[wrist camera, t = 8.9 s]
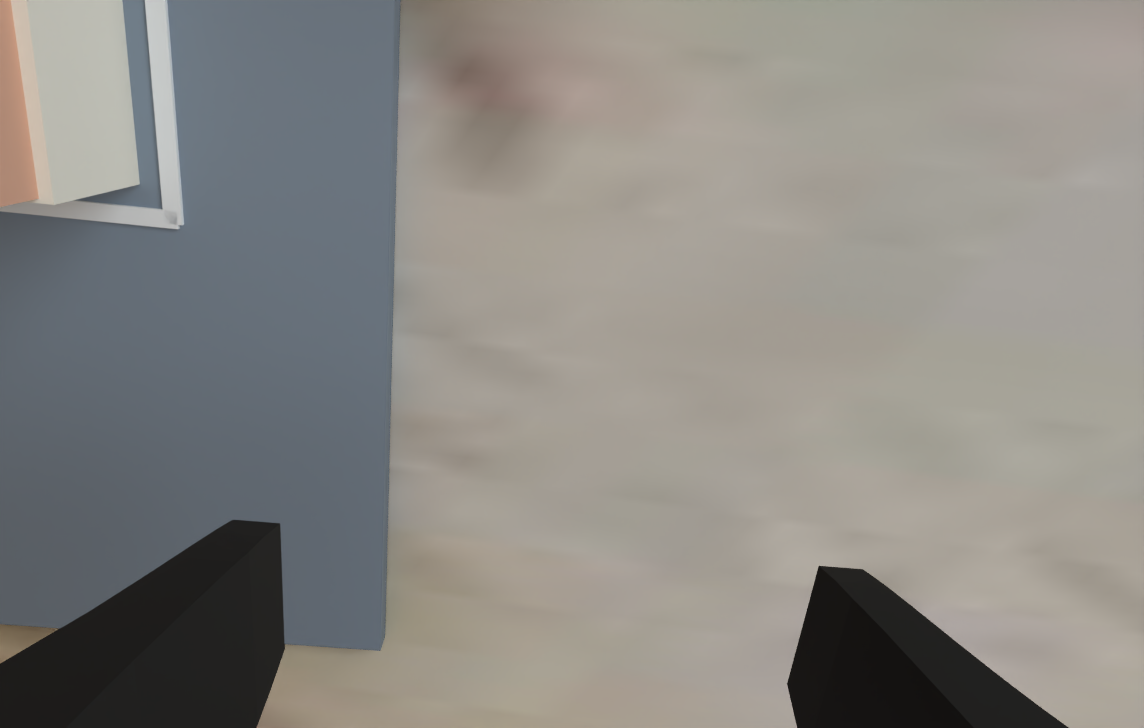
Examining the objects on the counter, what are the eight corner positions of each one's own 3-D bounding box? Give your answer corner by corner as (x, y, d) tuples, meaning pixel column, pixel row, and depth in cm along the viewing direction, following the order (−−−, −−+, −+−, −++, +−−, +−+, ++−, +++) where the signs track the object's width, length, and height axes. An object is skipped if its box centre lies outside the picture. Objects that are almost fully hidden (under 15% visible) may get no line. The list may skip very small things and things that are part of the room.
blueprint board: (384, 635, 22) (353, 737, 18) (-192, 595, 21) (-337, 693, 17) (404, -175, 15) (359, -252, 11) (-464, -291, 14) (-795, -413, 10)
